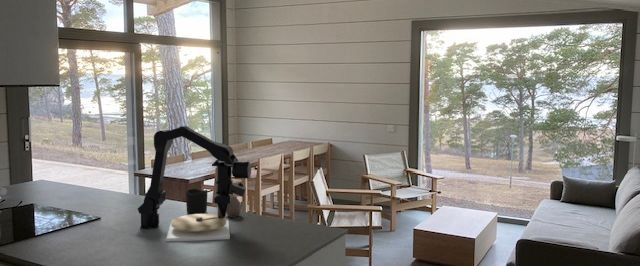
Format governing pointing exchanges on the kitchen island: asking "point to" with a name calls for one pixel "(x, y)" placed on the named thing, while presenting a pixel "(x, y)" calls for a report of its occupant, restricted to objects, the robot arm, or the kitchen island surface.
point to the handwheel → (199, 222)
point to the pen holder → (196, 201)
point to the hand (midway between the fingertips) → (223, 216)
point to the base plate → (198, 234)
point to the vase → (234, 207)
